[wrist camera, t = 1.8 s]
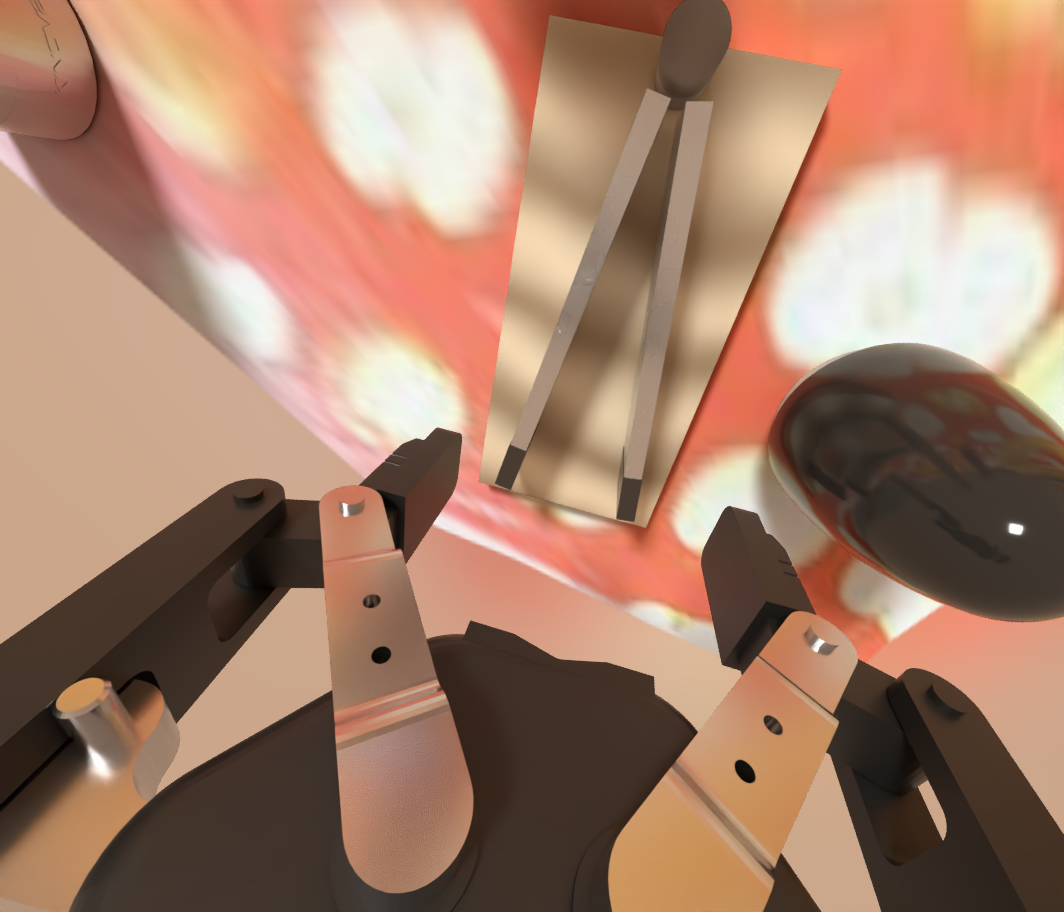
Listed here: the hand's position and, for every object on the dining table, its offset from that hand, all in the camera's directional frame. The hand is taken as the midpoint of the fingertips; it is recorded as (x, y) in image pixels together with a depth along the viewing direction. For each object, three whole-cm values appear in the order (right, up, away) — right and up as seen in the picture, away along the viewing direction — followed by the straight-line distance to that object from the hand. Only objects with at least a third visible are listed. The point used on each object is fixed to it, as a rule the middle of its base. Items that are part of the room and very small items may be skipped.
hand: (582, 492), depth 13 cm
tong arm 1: (+1, +9, +12) cm, 15 cm away
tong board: (+3, +9, +14) cm, 17 cm away
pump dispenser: (+18, +4, +13) cm, 23 cm away
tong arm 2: (+5, +8, +12) cm, 15 cm away
